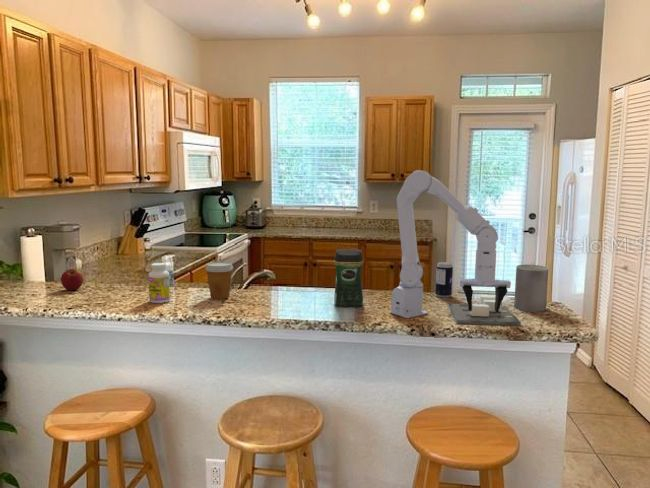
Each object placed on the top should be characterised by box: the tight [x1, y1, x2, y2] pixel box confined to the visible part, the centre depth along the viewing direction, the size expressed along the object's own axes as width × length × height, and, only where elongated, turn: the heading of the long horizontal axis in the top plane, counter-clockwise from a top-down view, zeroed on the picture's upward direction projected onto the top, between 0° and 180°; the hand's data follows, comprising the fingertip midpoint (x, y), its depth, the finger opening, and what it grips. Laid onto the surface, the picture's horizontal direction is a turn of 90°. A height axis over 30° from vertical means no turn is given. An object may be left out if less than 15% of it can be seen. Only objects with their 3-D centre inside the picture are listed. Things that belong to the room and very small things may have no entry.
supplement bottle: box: [148, 262, 171, 304], centre depth 165 cm, size 7×7×13 cm
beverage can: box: [435, 261, 454, 298], centre depth 175 cm, size 6×6×12 cm
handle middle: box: [483, 300, 503, 312], centre depth 152 cm, size 5×2×3 cm, turn 83°
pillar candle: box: [513, 262, 549, 313], centre depth 159 cm, size 10×10×15 cm
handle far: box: [479, 294, 495, 304], centre depth 158 cm, size 5×2×3 cm, turn 83°
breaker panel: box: [447, 303, 522, 327], centre depth 151 cm, size 18×19×1 cm
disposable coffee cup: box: [205, 261, 234, 300], centre depth 170 cm, size 10×10×12 cm
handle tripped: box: [470, 303, 489, 317], centre depth 147 cm, size 5×2×3 cm, turn 83°
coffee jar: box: [333, 248, 364, 308], centre depth 162 cm, size 10×8×19 cm
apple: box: [60, 268, 85, 291], centre depth 180 cm, size 8×8×8 cm
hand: (483, 310), depth 147 cm, fingers open, 7 cm apart
